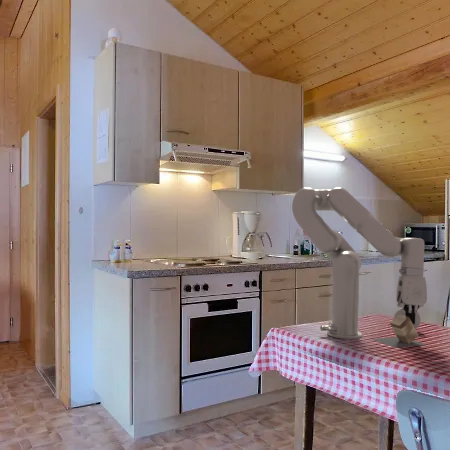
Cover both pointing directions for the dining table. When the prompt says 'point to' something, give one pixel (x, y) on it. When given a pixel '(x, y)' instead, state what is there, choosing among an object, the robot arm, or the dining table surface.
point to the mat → (397, 342)
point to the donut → (401, 312)
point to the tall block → (404, 329)
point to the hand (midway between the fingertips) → (409, 323)
